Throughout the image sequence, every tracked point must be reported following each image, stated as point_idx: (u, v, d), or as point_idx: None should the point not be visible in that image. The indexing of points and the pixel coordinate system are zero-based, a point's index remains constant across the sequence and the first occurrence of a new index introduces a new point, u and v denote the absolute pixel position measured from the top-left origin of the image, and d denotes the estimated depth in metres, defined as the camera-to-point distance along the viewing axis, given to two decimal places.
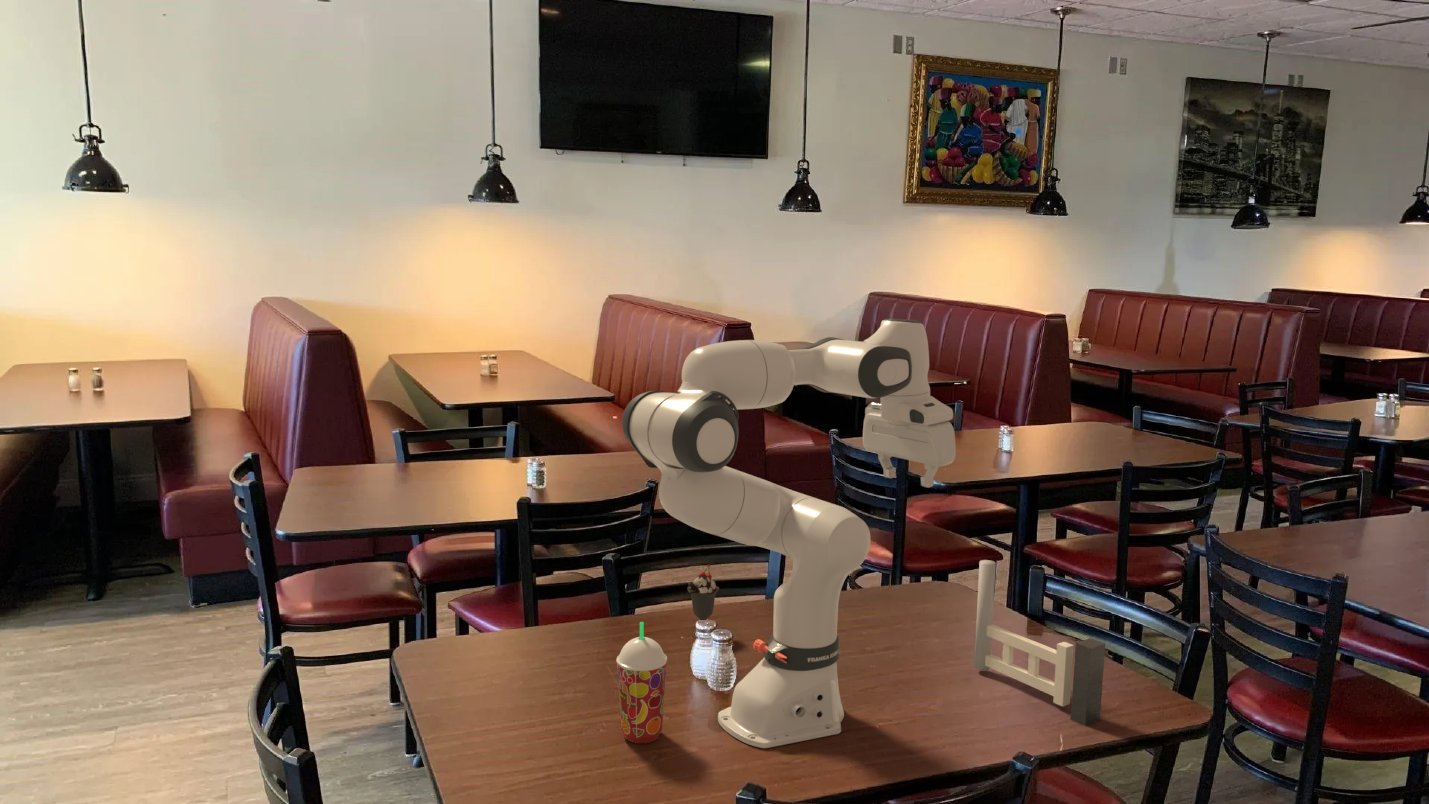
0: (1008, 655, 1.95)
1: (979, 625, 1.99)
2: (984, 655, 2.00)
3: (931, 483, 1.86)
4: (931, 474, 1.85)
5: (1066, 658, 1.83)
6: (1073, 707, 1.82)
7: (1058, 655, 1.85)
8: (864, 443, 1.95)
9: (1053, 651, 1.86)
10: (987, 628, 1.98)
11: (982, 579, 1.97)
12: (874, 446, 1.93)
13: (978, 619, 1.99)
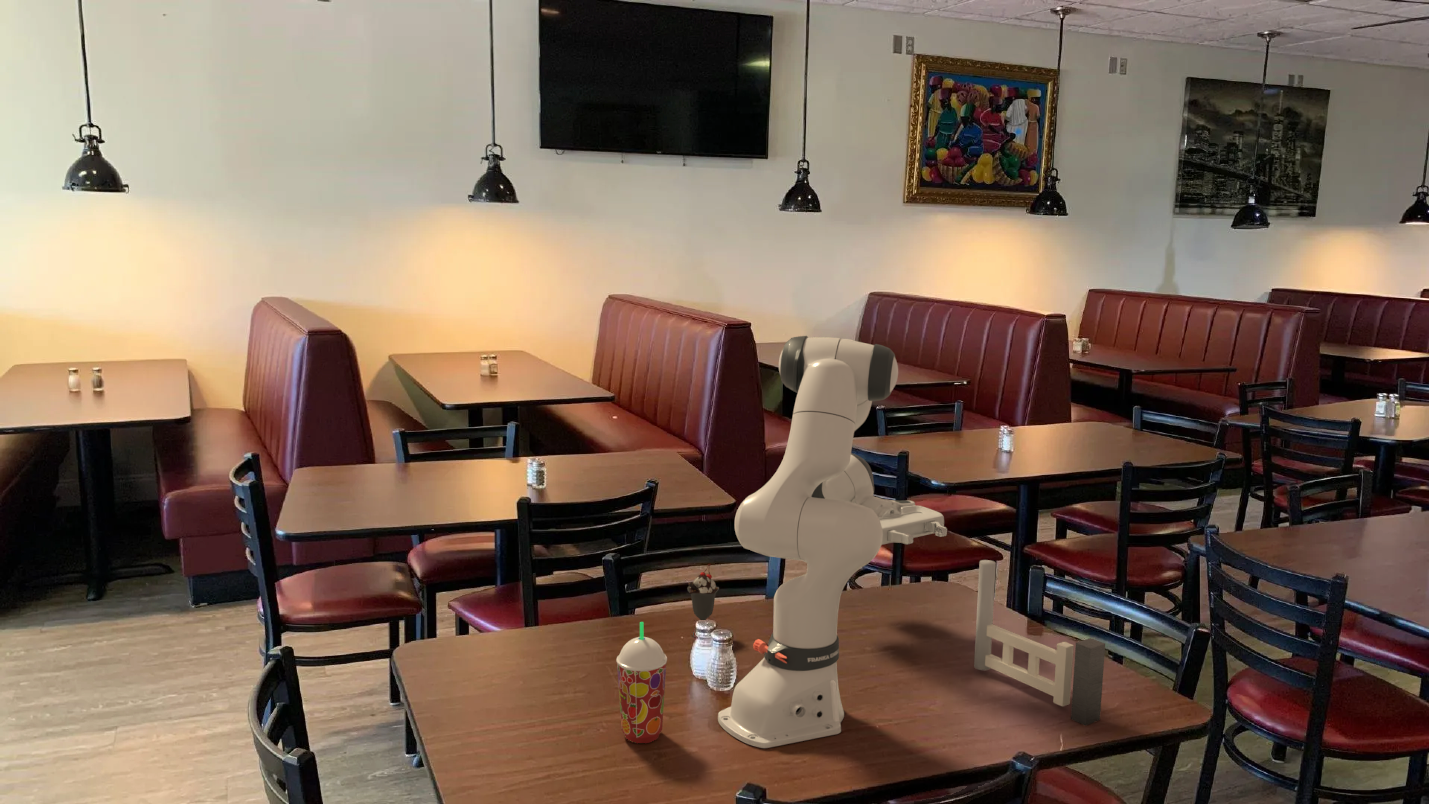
0: (1008, 655, 1.95)
1: (979, 625, 1.99)
2: (984, 655, 2.00)
3: None
4: None
5: (1066, 658, 1.83)
6: (1073, 707, 1.82)
7: (1058, 655, 1.85)
8: None
9: (1053, 651, 1.86)
10: (987, 628, 1.98)
11: (982, 579, 1.97)
12: (884, 525, 2.12)
13: (978, 619, 1.99)
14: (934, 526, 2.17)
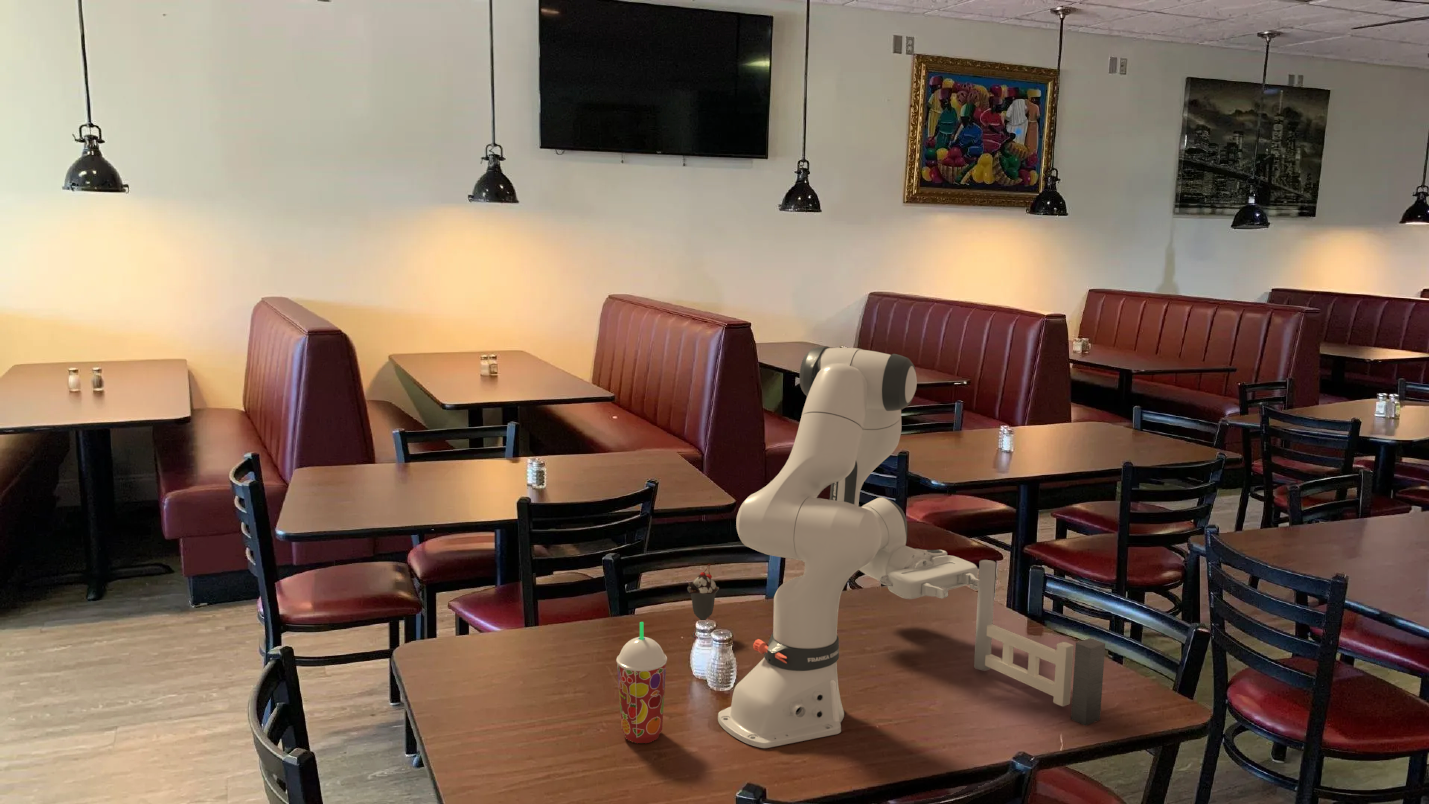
0: (1008, 655, 1.95)
1: (979, 625, 1.99)
2: (984, 655, 2.00)
3: None
4: None
5: (1066, 658, 1.83)
6: (1073, 707, 1.82)
7: (1058, 655, 1.85)
8: (906, 580, 2.03)
9: (1053, 651, 1.86)
10: (987, 628, 1.98)
11: (982, 579, 1.97)
12: (917, 578, 2.05)
13: (978, 619, 1.99)
14: (968, 578, 2.10)
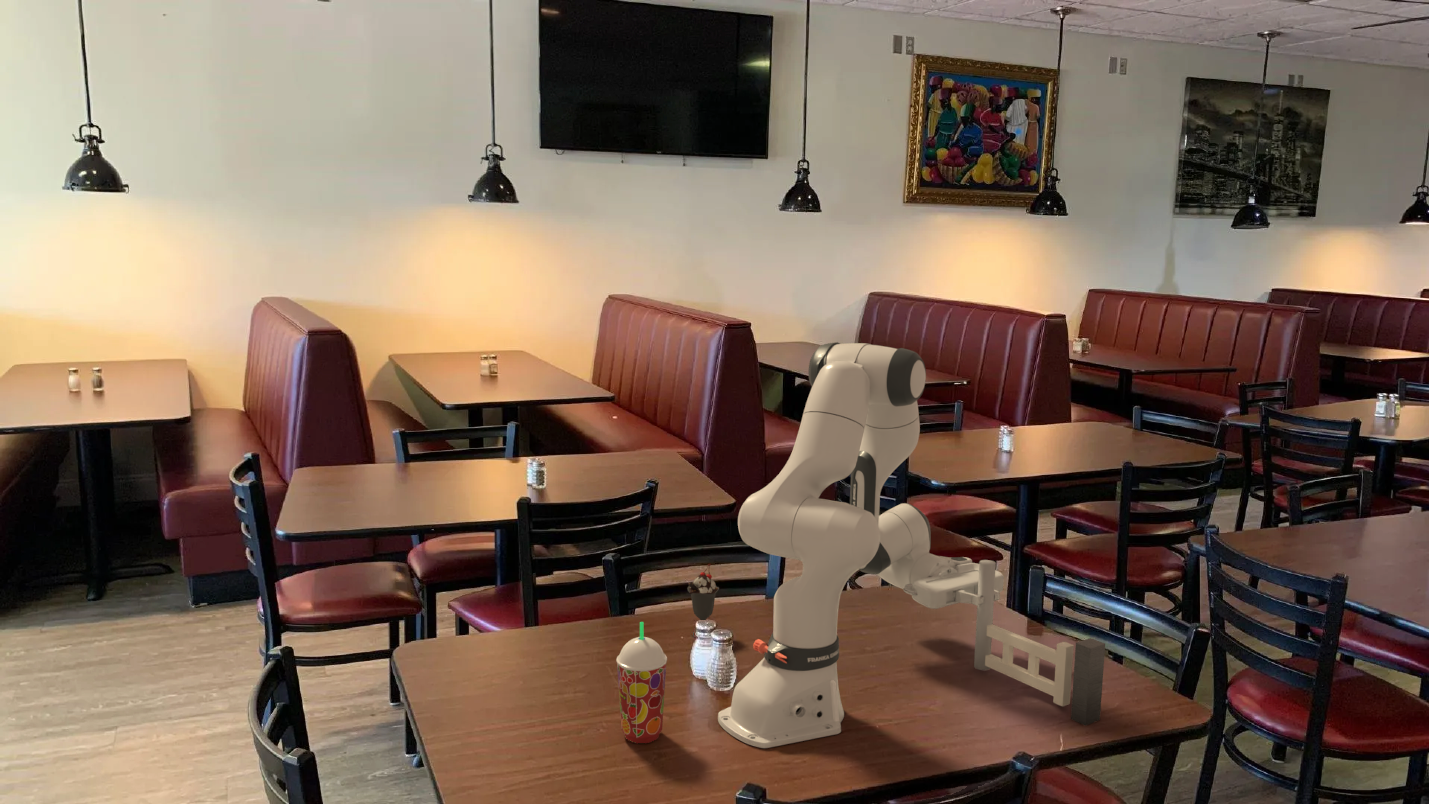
0: (1008, 655, 1.95)
1: (979, 625, 1.99)
2: (984, 655, 2.00)
3: None
4: None
5: (1066, 658, 1.83)
6: (1073, 707, 1.82)
7: (1058, 655, 1.85)
8: (931, 589, 1.98)
9: (1053, 651, 1.86)
10: (987, 628, 1.98)
11: (982, 579, 1.97)
12: (942, 587, 1.99)
13: (978, 619, 1.99)
14: None
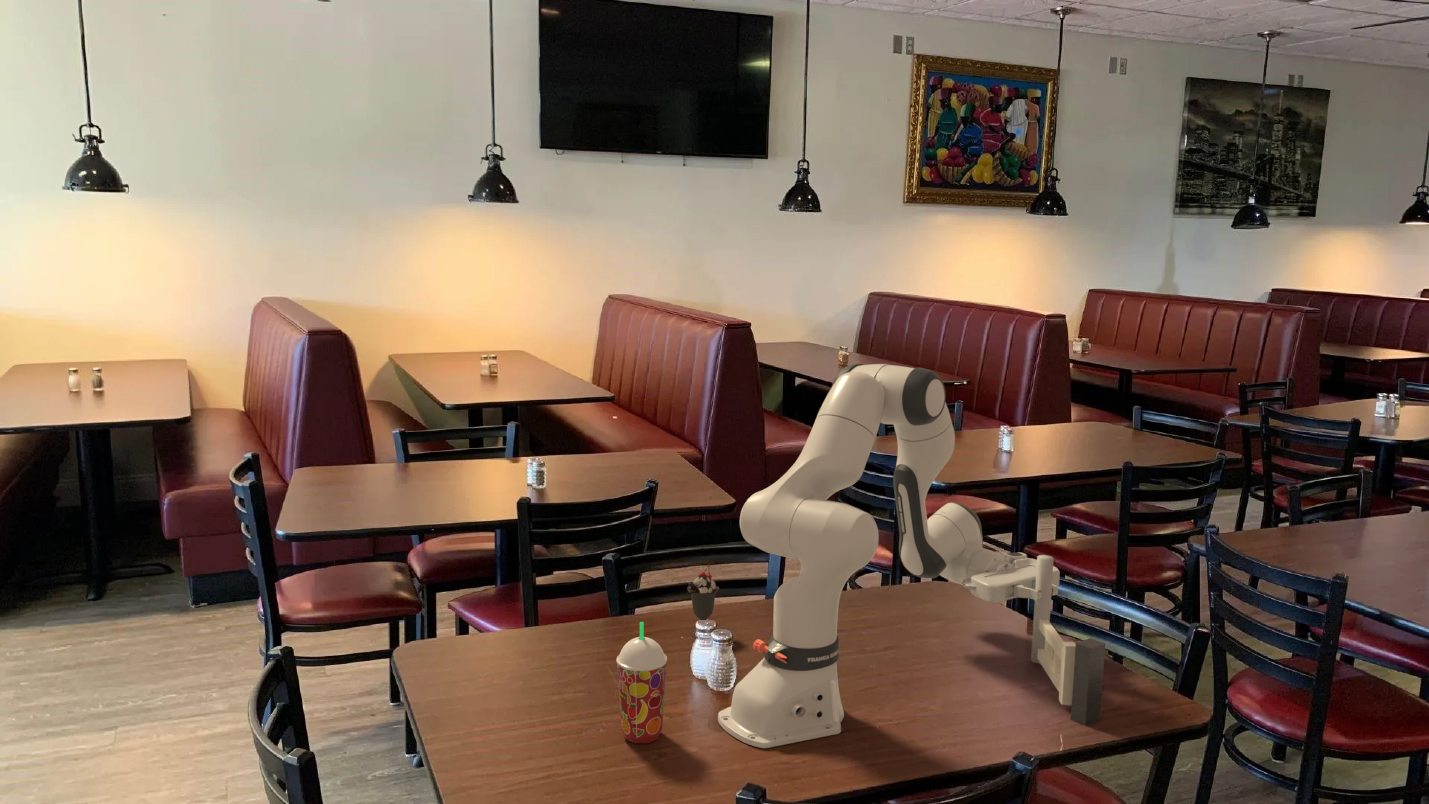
0: (1046, 650, 1.97)
1: (1034, 618, 2.03)
2: (1037, 648, 2.03)
3: None
4: None
5: (1066, 657, 1.84)
6: (1073, 707, 1.82)
7: (1062, 653, 1.86)
8: (990, 584, 2.01)
9: None
10: (1039, 622, 2.02)
11: (1037, 572, 2.02)
12: (1001, 581, 2.03)
13: (1034, 611, 2.03)
14: None
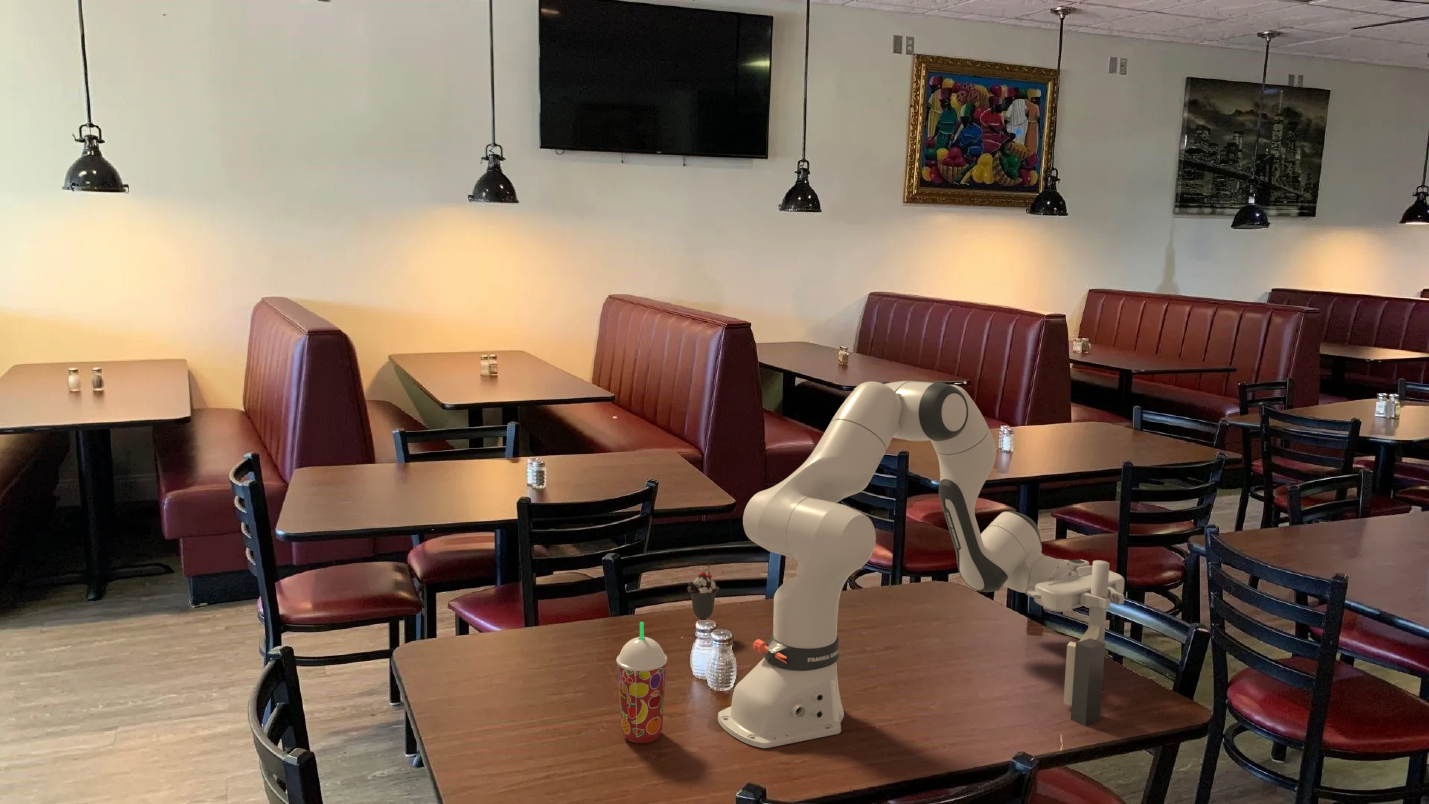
0: None
1: None
2: None
3: None
4: None
5: (1067, 656, 1.84)
6: (1073, 707, 1.82)
7: None
8: (1056, 592, 1.97)
9: None
10: None
11: None
12: (1067, 590, 1.98)
13: None
14: (1108, 592, 2.02)
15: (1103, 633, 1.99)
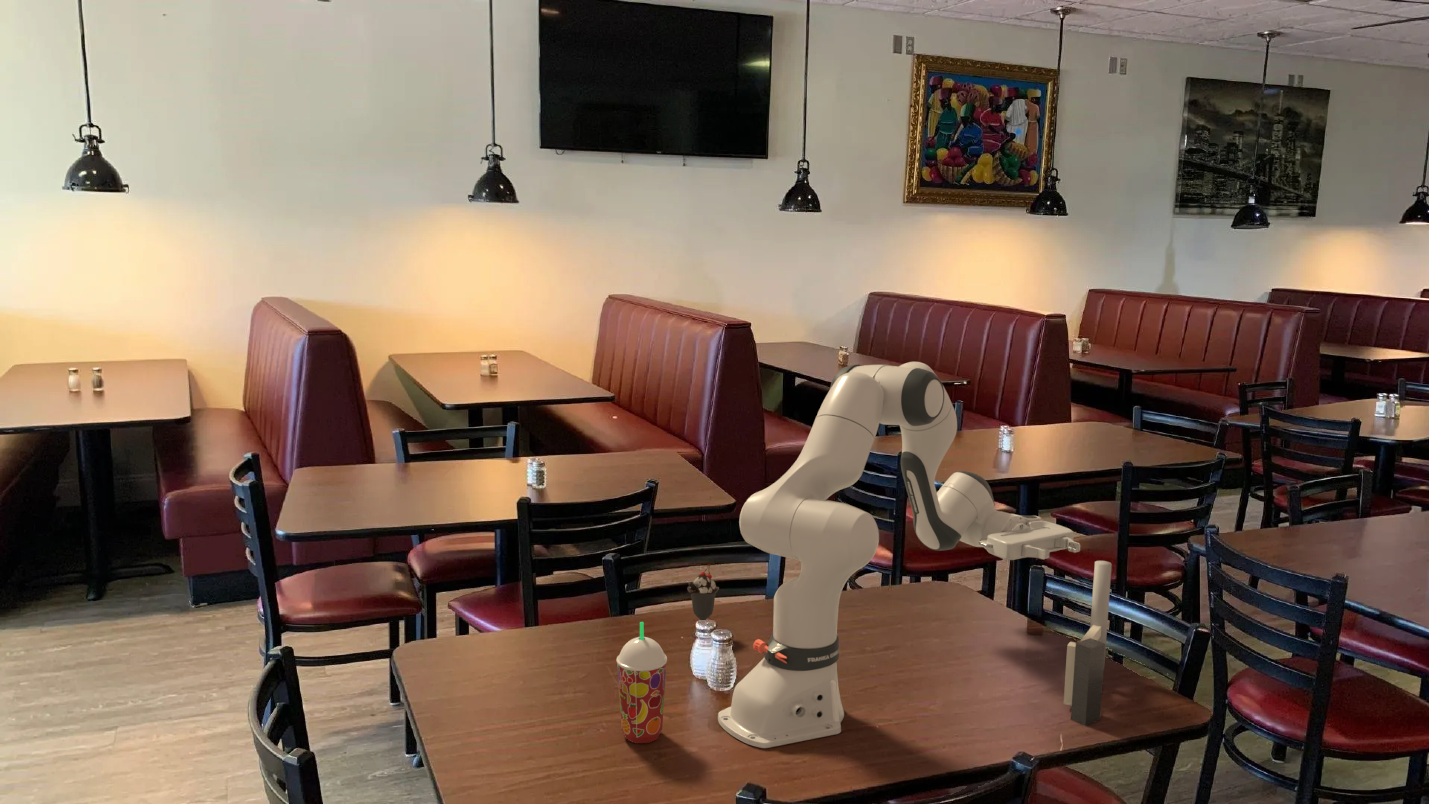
0: None
1: None
2: None
3: None
4: None
5: (1067, 656, 1.84)
6: (1073, 707, 1.82)
7: None
8: (1007, 541, 2.06)
9: None
10: None
11: None
12: (1017, 539, 2.08)
13: None
14: (1065, 542, 2.12)
15: (1105, 633, 1.99)
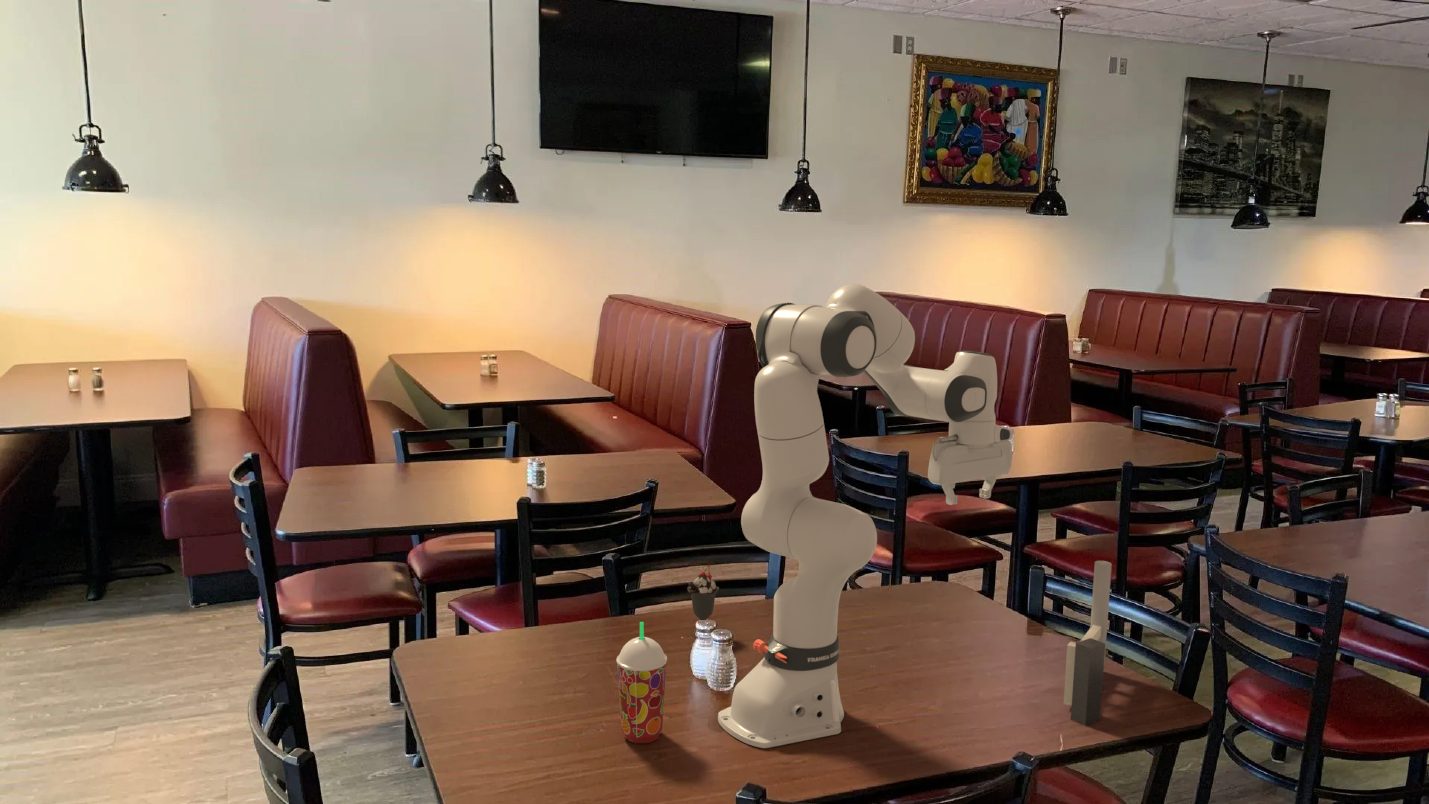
0: None
1: None
2: None
3: None
4: None
5: (1067, 656, 1.84)
6: (1073, 707, 1.82)
7: None
8: (943, 478, 2.00)
9: None
10: None
11: None
12: (953, 477, 2.01)
13: None
14: None
15: (1105, 633, 1.99)
